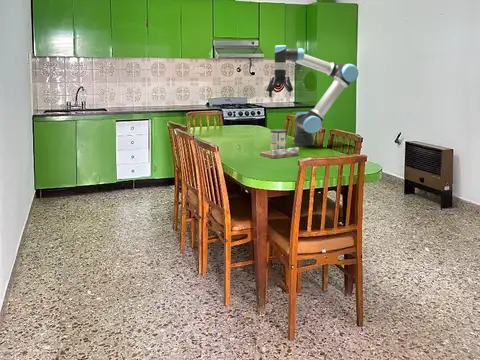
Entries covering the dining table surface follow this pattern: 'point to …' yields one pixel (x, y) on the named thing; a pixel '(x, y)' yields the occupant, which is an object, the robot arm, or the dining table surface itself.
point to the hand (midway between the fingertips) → (279, 101)
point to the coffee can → (278, 139)
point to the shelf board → (281, 153)
